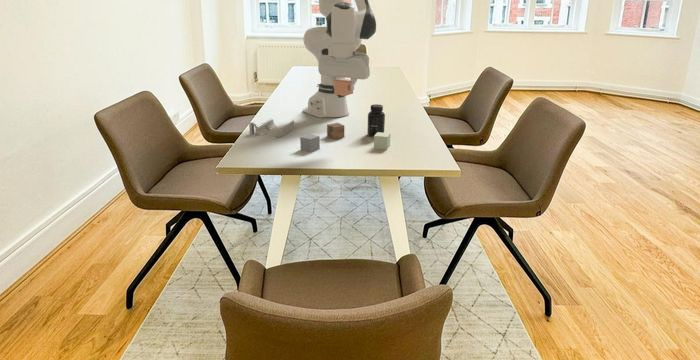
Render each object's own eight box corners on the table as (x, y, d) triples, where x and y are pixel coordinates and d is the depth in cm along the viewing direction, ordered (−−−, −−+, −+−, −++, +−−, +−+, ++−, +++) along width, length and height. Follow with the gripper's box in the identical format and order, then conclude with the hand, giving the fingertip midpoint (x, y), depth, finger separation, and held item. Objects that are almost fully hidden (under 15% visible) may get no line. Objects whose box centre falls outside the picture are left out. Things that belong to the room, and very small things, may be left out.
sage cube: (373, 148, 198) (374, 135, 196) (377, 144, 202) (377, 132, 200) (387, 149, 196) (387, 136, 194) (390, 145, 201) (390, 133, 199)
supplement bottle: (370, 137, 210) (370, 108, 206) (365, 133, 216) (365, 104, 212) (386, 136, 212) (387, 107, 208) (381, 131, 218) (382, 103, 214)
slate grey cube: (300, 149, 196) (300, 136, 194) (309, 146, 200) (309, 133, 198) (310, 152, 193) (310, 139, 191) (319, 149, 197) (319, 136, 195)
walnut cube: (327, 136, 212) (326, 124, 210) (337, 134, 215) (337, 122, 213) (333, 139, 208) (333, 127, 206) (344, 137, 211) (344, 125, 209)
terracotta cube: (334, 94, 194) (334, 80, 193) (341, 91, 198) (341, 78, 197) (345, 95, 192) (345, 82, 190) (353, 93, 196) (353, 79, 194)
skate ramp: (280, 138, 211) (279, 126, 209) (250, 135, 214) (249, 123, 212) (294, 128, 224) (294, 116, 222) (265, 126, 228) (265, 114, 226)
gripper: (373, 51, 187) (372, 90, 192) (325, 47, 197) (325, 84, 202) (364, 54, 182) (363, 94, 187) (315, 49, 192) (316, 87, 197)
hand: (343, 89), depth 195 cm, fingers closed on terracotta cube, 5 cm apart
